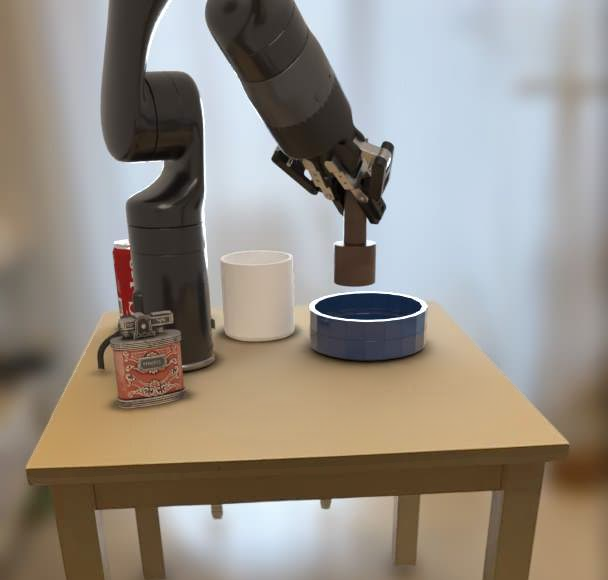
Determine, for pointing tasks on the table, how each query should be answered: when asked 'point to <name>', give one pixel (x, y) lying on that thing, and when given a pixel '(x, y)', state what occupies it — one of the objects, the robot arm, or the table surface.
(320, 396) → the table surface
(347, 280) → the brown peg with base
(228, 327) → the mug
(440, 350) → the table surface
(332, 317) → the bowl
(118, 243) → the soda can
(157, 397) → the lighter
